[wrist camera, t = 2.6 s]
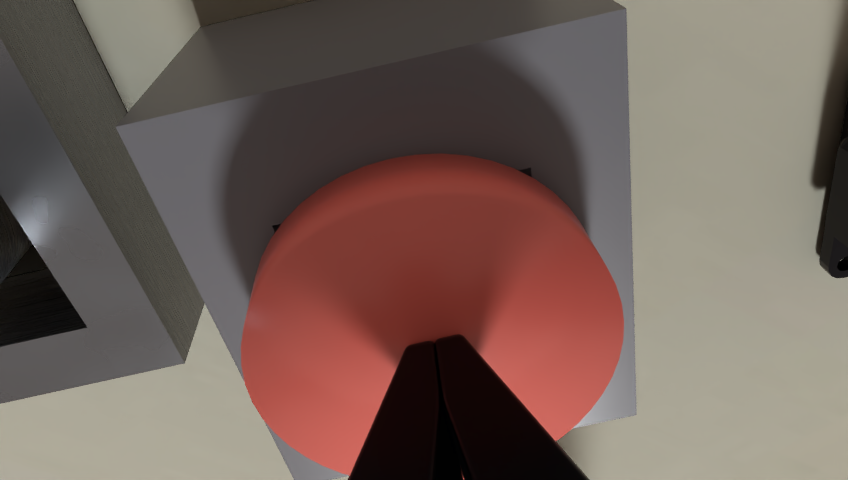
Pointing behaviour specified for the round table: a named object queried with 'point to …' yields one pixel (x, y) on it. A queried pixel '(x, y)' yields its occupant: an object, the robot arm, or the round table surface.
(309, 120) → the block
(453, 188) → the release button
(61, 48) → the socket
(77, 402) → the round table surface
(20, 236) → the shiny silver cylinder
